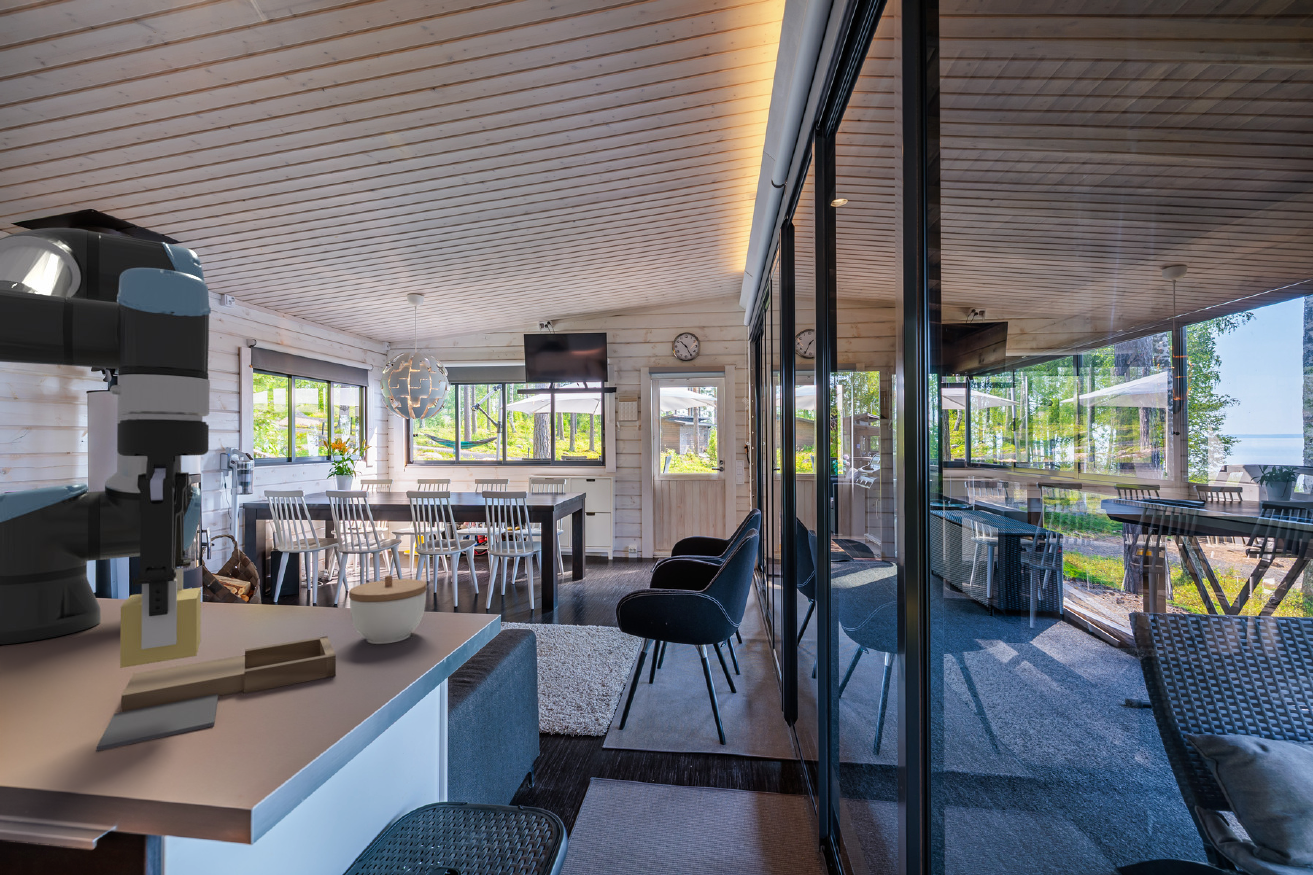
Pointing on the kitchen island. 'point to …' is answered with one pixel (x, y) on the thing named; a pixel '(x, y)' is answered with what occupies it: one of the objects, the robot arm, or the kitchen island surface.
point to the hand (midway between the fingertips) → (163, 636)
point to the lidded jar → (387, 609)
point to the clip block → (183, 648)
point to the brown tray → (233, 674)
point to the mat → (159, 721)
